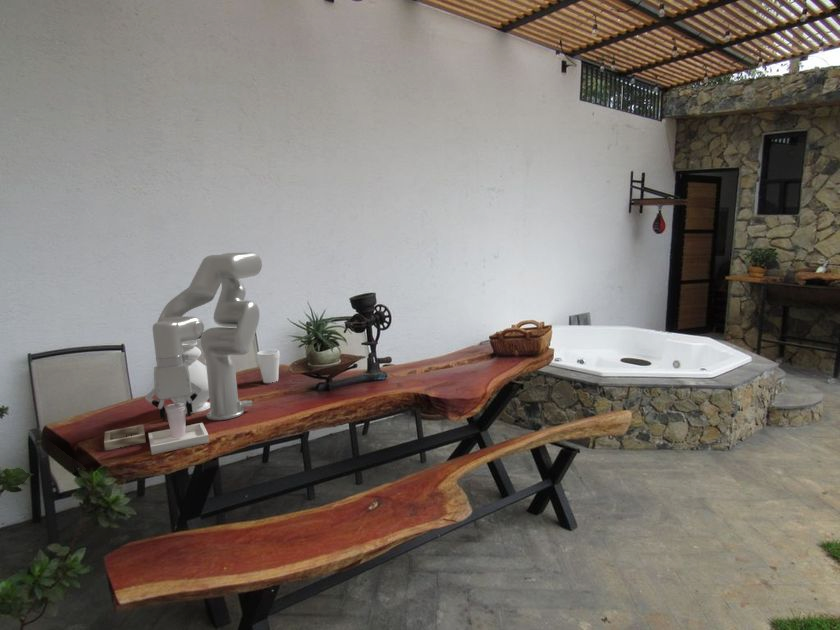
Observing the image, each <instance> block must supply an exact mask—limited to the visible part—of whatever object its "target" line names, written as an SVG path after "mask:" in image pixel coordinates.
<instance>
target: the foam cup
mask: <svg viewBox="0 0 840 630" xmlns="http://www.w3.org/2000/svg"><path fill="white" fill-rule="evenodd" d="M256 357H257V361H258V364H259V365H258V366H259V368H260V369H259V370H260V373H261V378H262V382H263V383H264V384H273V383H276V381H277V382H278V381H279V370H280V357H281V354H280V350H278V349H266V350H260V351H257V353H256ZM272 382H273V383H272Z"/></svg>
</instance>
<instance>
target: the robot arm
mask: <svg viewBox="0 0 840 630" xmlns="http://www.w3.org/2000/svg"><path fill="white" fill-rule="evenodd" d="M262 261H263V260H262V258H261V257H260V255H258V254H257V253H256V252H251V251H250V252H227V253H221V254H212V255H211V254H210V255H207V256H206V257H204V258H203V259H202V261H201V263H200V264H199V267H198V269H197V271H196V272H195V274H194V276H193V278H192V280H191V282H190V283H189V286H188V287H186V289H184V290H182V291H181V292H179V294H177V295H176V296H175V297H173V298H172V299H170V300H169V302H167V303H166V305H165V306H164V308H163V309H162V311H161V313H160V314H159V317H158V319H157V321H156V322H155V323H153V325H152V336H153V337H152V338H153V342H154V343H153V344H154V353H155V361H156V366H154V367H153V382H154V383H153V384H154V385H153V389H152V390H151V391H150V392H149V393H148V394H147V395H146V396H145V401H147V402H148V403H149V404H151V405H152V406H154V407H155V408H158V413H159V418H160V419H162V421H163V422H165V421H166V418H167V416H166V412H165V409H164V408H165V406H164V404H165V400H171V399H172V398H177V397H183V396H184V397H185V398H186V400H187V402H186V405H187V414H186V416H188V417H191V415H192V414H190V413H191V412H192V402H193V400H194V399H195V398H196V397H197V395H198V394H199V393H200V391H201V388H200V387H198V386H197V385H195V384H193V383H192V382H191V380H190V375H189V371H188V367H187V364H186V363H184V361H185V360H188V359H189V357H188V355H183V350H182V342H184V341H195V340H197V339H199V338H200V346H201V352H202V353H203V356H204V361H205V366H206V369H207V379H208V389H209V399H208V400H209V403H210V408H209V409H210V410H208V412H207V413H206V419H208V420H210V421H223V420H224V421H225V420H230V419H235V418H237V417H240V416H242V415H243V414H244V413H245V412H244V410H245V409H244V408H245V407H250V406H251V407H252V406H253V401H252V400H247V399H245V400H240V399H239V394H238V384H237V383H238V382H237V372H236V370H237V369H236V365H235V361H234V359H233V357H232V356H243V355H246V354H248V352H250V350H251V348H252V346H253V343H254V340H255V336H256V332H257V329H258V325H259V322H260V308H259V307H258V304H257V303H256V302H254V301H252V300H246V299H245V298H246V293H247V291H246V288H245V286H244V284H243V283H242V281H241V280H240V279H247V278H250V277H255V276H258V275H259V274H260V272H261V271H262V267H263V263H262ZM220 286H221V290H220V293H219V297H218V300H217V302H216V305H215V309H214V312H213V320H214V323H215V324H216V325H218V326H219V327H210V328H207V329H205V325H204V323H203V321H202V320H201V319H200V318H198V317H195V316H184V315H185V314H186V313H188V312H189V311H191V310H194V309H196V308H199V307H201V306H204V305H206V304H208V303H210V302H212V301H213V300H214V298H215V297H216V294H217V292H218V290H219V288H220ZM192 388H193V389H195V391H194V393H193V394H192V395H191V396H189V395H190V394H191V393H192ZM154 396H155V398H156V399H157V400H156V399H154V398H153V397H154Z"/></svg>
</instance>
